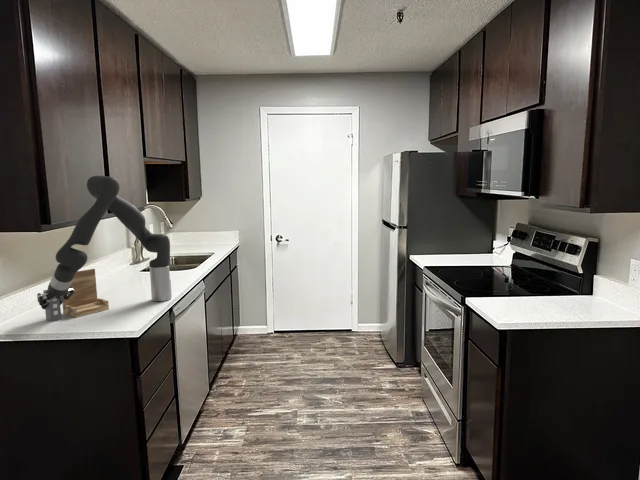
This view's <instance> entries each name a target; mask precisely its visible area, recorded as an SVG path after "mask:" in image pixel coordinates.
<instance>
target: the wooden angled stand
mask: <svg viewBox="0 0 640 480" xmlns="http://www.w3.org/2000/svg"><path fill="white" fill-rule="evenodd" d="M96 278H97V277H96V269H95V268H90V269H84V270H83V269H82V270H78V271H77V272H76V274H75V276H74V278H73V281H72V284H71V286H70V287H72V288H73V290H74V293H73V294H72V295H71V297H70V298H69V299H68V300H66V299H65V300H64V301H63V302H62V304H61V305H62V313H63V314H64V315H66V316H70V317H73V318H79V317H83V316H86V315H87V316H88V315H91V314H95V313H98V312H103V311H107V310H110V306H109V305H110V303H109V300H107V299H103V298H100V297H98V291H97V290H98V289H97V282H96V281H97V279H96ZM63 296H64V295H63Z"/></svg>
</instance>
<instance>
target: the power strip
mask: <svg viewBox="0 0 640 480" xmlns="http://www.w3.org/2000/svg"><path fill="white" fill-rule="evenodd" d="M47 290H48V289H44V290H42V291H43V292H42V294H44V293H45V292H46V291H47ZM44 298H45V297H44ZM44 310H45V311H44V312H45V319H46V321H49V322H51V323H53V322H57V321H61V320H62V311H61V305H60V298H56V299H53V300H52V301H51V302H49V303H48V304H47V307H46V309H44Z"/></svg>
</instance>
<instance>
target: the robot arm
mask: <svg viewBox="0 0 640 480" xmlns="http://www.w3.org/2000/svg"><path fill="white" fill-rule="evenodd" d="M86 188H87V191H88V193H89V194H90V195H91V196H92V197H93V198H94V199H95V202H94V203H93V204H92V206H91V207H90V208H89V209H88V210H87V211H86V212H85V213H84V214H83V215H82V216H81V217H80V218H79V219H78V221H77V222H76V224H75V225H74V228H73V231H72V233H71V234H70V236H69V238H68V239H67V240H66V241H65V243H64V244H63V245H62V246H61V247H60V248H59V249H58V250H57V252H56V254H55V261H56V262H57V263H58V265H57V266H56V269H55V270H54V273H53V274H52V276H51V278H50V281H49V283H48V285H47V289H46V290H47V291H46V292H45V293H41V292H38V293H37V296H36V297H37V298H36V299H37V302H38V304H39V306H40V307H41V309H42V310H45V309H46V307H47V304H48V303H49V302H51V301H52V300H53V299H56V298H60V306H61V305H62V302H63V301H64V300H65V299H66V300H68V299H69V298H70V297H71V295H72V294H73V293H74V290H73V288H72V287H70V286H71V284H72V281H73V278H74V276H75V274H76V272H77V271H80V270H81V269H82V268H83V267H84V266H85V264H86V263H87V261H88V255H87V253H86V251H82V250H80V249H76V248H74V247H73V246H75V245H79V246H80V245H81V246H88V245H89V244H90V242H91V240H92V238H93V236H94V234H95V231H96V230H97V226H98V225H99V223H100V222H101V220H102V219H103V217H104V215H105V214H106V213H107V211H108V210H109V211H110V212H111V213H112V214H113V215H114V216H115V217H116V218H117V220H119V222H120V223H122V225H123V226H124V227H125V228H127V229H128V230H129V231H130V232H131V234H132V235H134V237H136V239H137V240H138V241H139V242H140V244H141V245H142V246H143V248H144V249H145V250H146V251H147V252H149V253H156V257H155V258H153V259H151V260H150V261H149V263H148V264H149V278H150V280H149V281H150V294H151V296H150V297H151V301H152V302H155V301H161V302H167V301H169V300H171V299H172V296H173V295H172V279H171V272H170V262H171V261H170V260H171V243H170V242H171V241H170V238H169V236H168V235H167V234H163V233H153V232H151V231H150V230H149V229H148V228H147V227H146V218H145V216H144V215H143V212H141V211H140V209H138V208H137V207H136V206H135V205H134V204H133V203H131V202H129V201H127V200H126V199H124V198H122V197H121V196H119V192H120V188H121V187H120V183H119V181H118V179H116V178H115V177H113V176H108V175H107V176H106V175H93V176H91V177H88V180H87V181H86ZM63 295H64V296H63ZM44 297H45V298H44ZM166 300H167V301H166Z"/></svg>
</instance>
